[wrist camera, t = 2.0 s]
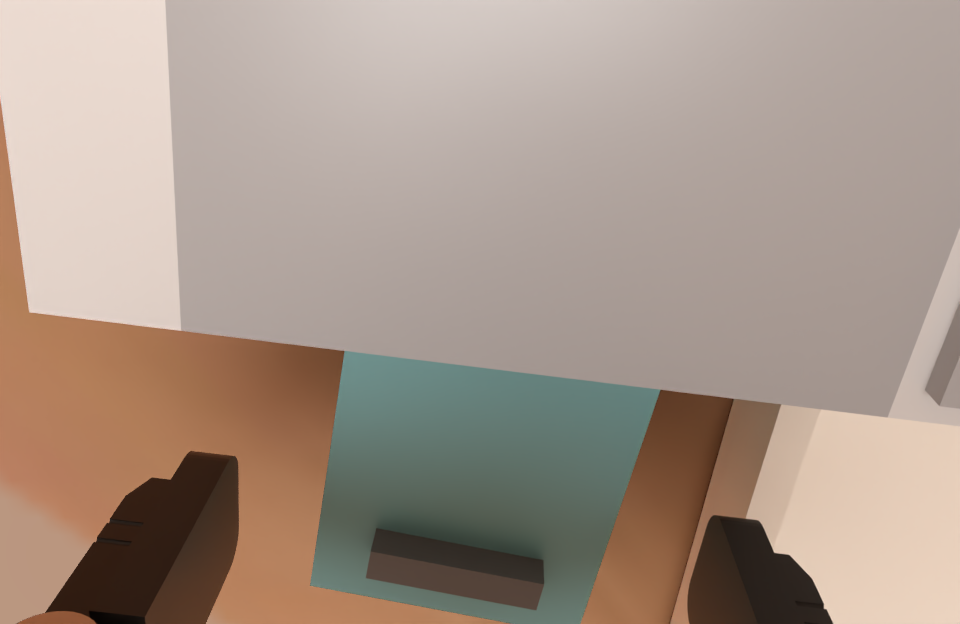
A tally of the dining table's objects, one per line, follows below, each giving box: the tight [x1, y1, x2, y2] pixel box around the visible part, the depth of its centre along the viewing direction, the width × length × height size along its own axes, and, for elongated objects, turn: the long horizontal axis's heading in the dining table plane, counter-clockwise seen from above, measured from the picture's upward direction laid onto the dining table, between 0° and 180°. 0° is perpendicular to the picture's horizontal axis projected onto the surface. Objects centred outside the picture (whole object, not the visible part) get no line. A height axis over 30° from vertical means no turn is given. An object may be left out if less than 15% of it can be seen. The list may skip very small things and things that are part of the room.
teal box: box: [310, 351, 660, 624], centre depth 15 cm, size 5×13×7 cm, turn 168°
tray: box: [670, 399, 960, 624], centre depth 20 cm, size 11×18×3 cm, turn 174°
